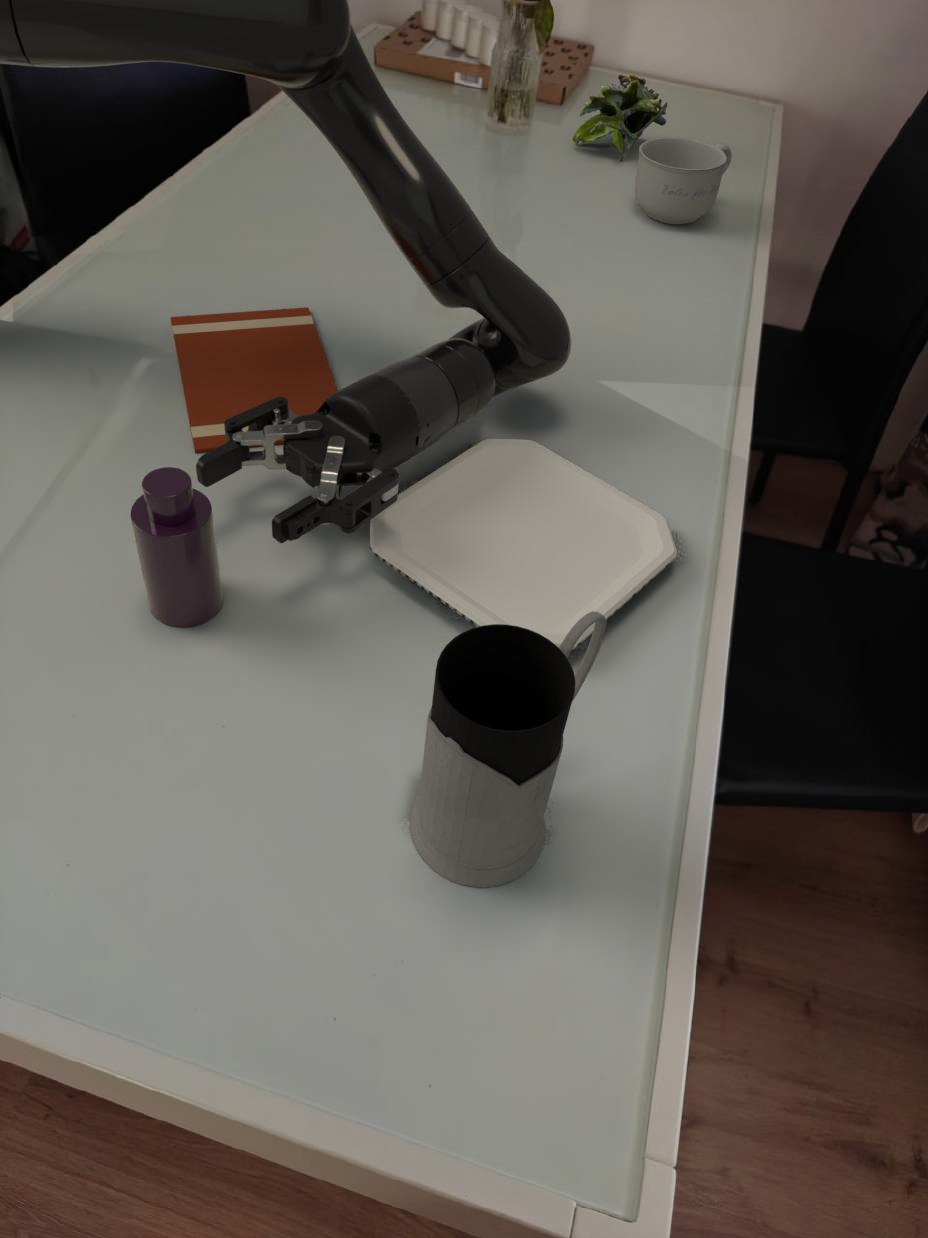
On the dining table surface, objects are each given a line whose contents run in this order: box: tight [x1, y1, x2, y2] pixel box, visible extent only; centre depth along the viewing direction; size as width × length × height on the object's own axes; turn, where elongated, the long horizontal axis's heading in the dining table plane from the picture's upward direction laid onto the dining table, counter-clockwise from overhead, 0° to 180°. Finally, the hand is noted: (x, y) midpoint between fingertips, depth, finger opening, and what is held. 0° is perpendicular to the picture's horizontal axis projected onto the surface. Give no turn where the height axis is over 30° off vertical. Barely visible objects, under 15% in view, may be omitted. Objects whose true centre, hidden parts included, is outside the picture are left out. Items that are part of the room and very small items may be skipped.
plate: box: [369, 438, 678, 651], centre depth 81 cm, size 21×21×2 cm
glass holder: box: [409, 611, 608, 888], centre depth 60 cm, size 9×14×15 cm, turn 138°
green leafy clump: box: [572, 74, 668, 162], centre depth 138 cm, size 11×11×12 cm
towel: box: [170, 306, 339, 454], centre depth 95 cm, size 22×14×1 cm, turn 17°
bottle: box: [129, 466, 224, 628], centre depth 70 cm, size 5×5×12 cm
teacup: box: [634, 136, 733, 225], centre depth 125 cm, size 14×11×8 cm
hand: (236, 503), depth 73 cm, fingers open, 8 cm apart
